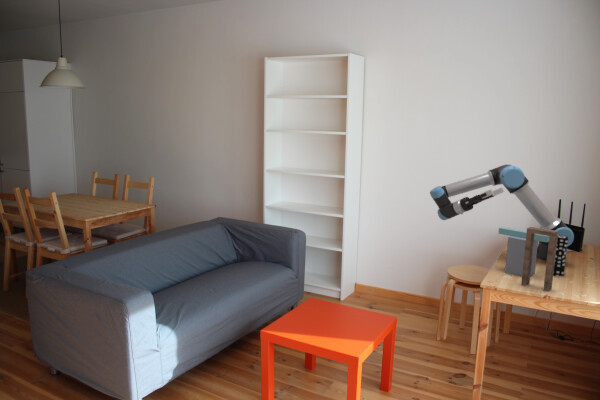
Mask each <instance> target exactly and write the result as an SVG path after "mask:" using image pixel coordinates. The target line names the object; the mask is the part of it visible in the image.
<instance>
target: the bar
mask: <svg viewBox="0 0 600 400" xmlns="http://www.w3.org/2000/svg"><path fill="white" fill-rule="evenodd" d="M526 234H527V230H520V229H516V228H515V229H514V228H510V227H509V228H508V227H503V226H502V227H498V235H503V236H508V237H510V236H514V237H520V238H525V239H526ZM534 240H536V241H538V242H539V241H542V242H549V236H545V235H539V234H535V236H534Z"/></svg>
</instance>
